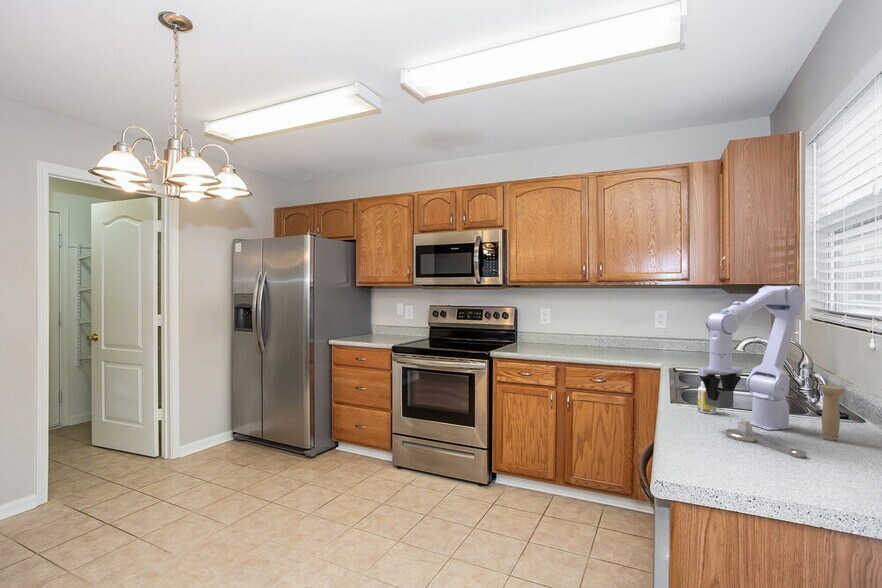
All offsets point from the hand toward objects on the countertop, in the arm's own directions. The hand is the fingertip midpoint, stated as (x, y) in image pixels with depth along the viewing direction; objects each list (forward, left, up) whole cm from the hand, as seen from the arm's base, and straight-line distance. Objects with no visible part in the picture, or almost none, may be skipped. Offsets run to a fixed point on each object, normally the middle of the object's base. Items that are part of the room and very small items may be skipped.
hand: (719, 399), depth 133 cm
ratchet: (-2, +13, -9) cm, 16 cm away
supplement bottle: (-14, -17, -10) cm, 24 cm away
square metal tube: (0, 0, -2) cm, 2 cm away
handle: (-25, +14, -10) cm, 30 cm away
